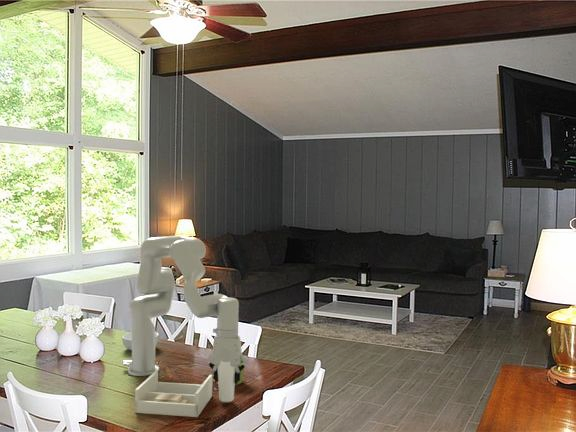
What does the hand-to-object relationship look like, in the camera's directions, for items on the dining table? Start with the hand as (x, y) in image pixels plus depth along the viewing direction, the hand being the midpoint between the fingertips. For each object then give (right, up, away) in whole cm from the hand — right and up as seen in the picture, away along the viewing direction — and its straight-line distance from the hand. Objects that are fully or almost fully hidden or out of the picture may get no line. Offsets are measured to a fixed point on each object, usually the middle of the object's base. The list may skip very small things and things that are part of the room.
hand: (226, 381), depth 197 cm
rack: (-18, -8, -1) cm, 20 cm away
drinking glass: (0, -7, 0) cm, 7 cm away
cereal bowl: (-48, -4, +63) cm, 79 cm away
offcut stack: (-19, -8, -6) cm, 22 cm away
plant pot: (+1, -7, +21) cm, 23 cm away
